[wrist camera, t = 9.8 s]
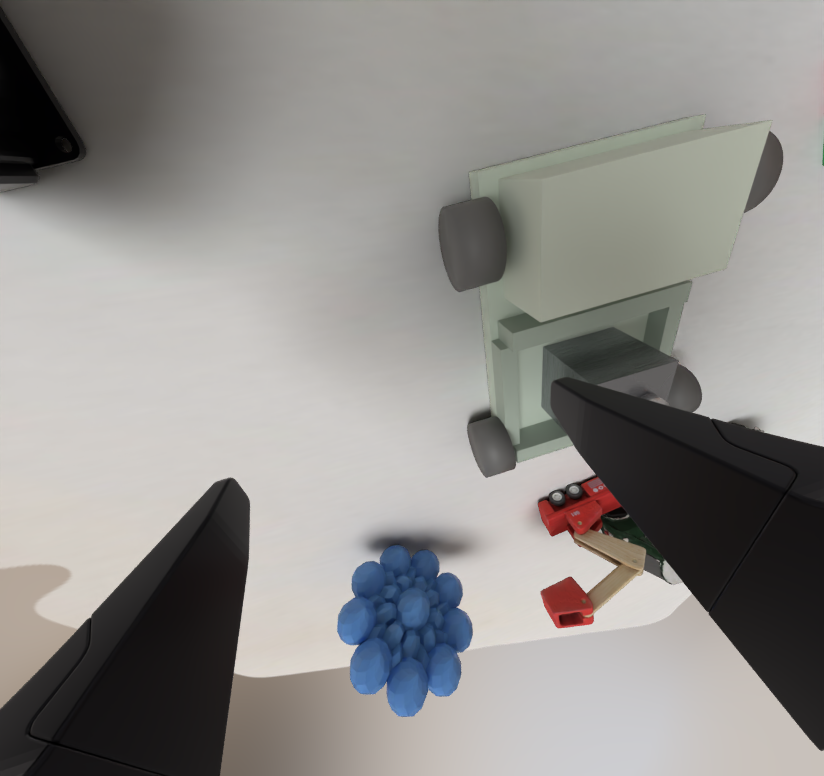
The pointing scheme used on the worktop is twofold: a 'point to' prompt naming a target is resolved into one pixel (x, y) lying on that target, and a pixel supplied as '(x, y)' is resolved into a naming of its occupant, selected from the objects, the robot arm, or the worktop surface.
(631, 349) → the block
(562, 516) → the toy fire truck
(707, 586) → the robot arm
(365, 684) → the grapes
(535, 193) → the chassis
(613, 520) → the miniature car
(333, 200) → the worktop surface
